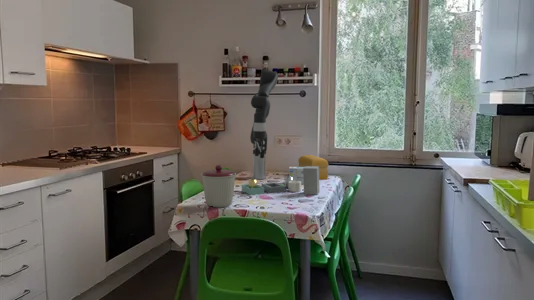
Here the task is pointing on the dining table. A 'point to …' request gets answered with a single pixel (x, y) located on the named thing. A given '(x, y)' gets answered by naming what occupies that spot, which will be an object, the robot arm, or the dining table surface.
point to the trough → (253, 190)
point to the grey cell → (287, 181)
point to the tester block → (273, 187)
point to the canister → (218, 186)
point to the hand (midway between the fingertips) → (259, 157)
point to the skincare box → (311, 180)
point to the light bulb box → (296, 174)
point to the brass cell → (252, 183)
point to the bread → (315, 164)
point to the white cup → (294, 186)
